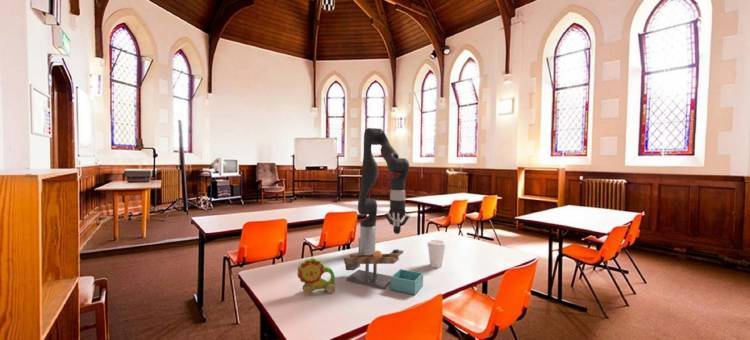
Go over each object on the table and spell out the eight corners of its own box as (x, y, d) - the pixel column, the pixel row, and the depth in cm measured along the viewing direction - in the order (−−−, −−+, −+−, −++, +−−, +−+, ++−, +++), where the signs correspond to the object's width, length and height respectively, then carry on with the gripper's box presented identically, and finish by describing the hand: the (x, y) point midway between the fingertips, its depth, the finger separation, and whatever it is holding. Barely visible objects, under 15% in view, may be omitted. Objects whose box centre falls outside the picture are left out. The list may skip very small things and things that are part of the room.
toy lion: (333, 288, 145) (333, 254, 144) (335, 293, 139) (335, 258, 139) (297, 291, 140) (297, 257, 140) (297, 297, 135) (297, 261, 134)
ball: (372, 260, 151) (371, 251, 151) (376, 257, 154) (375, 249, 154) (380, 260, 149) (379, 251, 149) (383, 258, 153) (382, 249, 153)
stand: (346, 280, 153) (346, 260, 152) (358, 272, 164) (359, 253, 163) (384, 289, 144) (385, 267, 144) (395, 280, 155) (395, 259, 154)
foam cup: (443, 263, 180) (444, 240, 179) (445, 269, 171) (446, 244, 170) (426, 262, 181) (427, 239, 180) (427, 268, 172) (428, 244, 171)
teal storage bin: (390, 290, 143) (391, 276, 143) (400, 281, 153) (400, 268, 153) (414, 295, 138) (415, 281, 138) (422, 285, 149) (423, 273, 148)
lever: (345, 270, 156) (343, 258, 156) (363, 259, 173) (361, 248, 173) (394, 270, 145) (392, 257, 145) (408, 258, 161) (407, 247, 161)
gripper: (382, 198, 159) (381, 233, 160) (407, 200, 153) (407, 237, 154) (388, 196, 165) (387, 230, 166) (413, 198, 160) (412, 233, 161)
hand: (397, 233), depth 160 cm, fingers closed
